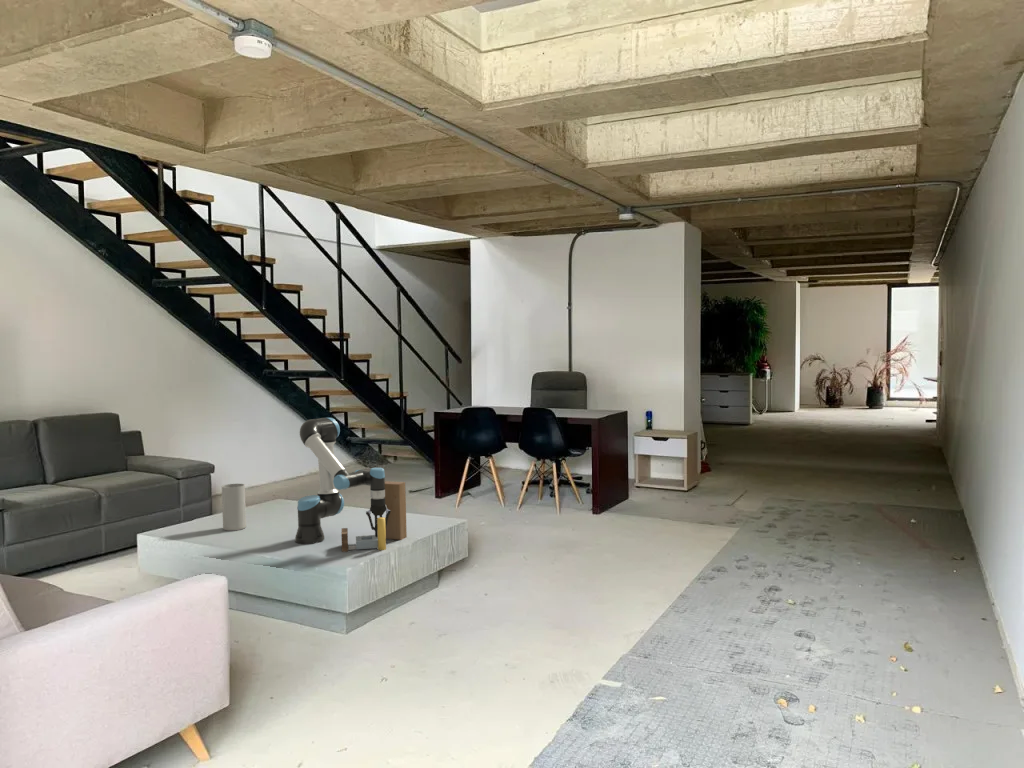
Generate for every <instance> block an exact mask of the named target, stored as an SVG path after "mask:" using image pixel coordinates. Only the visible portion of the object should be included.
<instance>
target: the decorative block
mask: <svg viewBox="0 0 1024 768" xmlns="http://www.w3.org/2000/svg"><path fill="white" fill-rule="evenodd" d="M384 498H385V506H386V508H387V509H388V510H390V511H391V512H390V514H389V516H388V521H387V526H386V540H396V541H397V540H400V541H401V540H403V539H406V538H407V537H408V535H407V534H408V533H407V532H408V531H407V500H406V498H407V495H406V482H405V481H392V480H391V481H388V480H387V481H386V480H385V497H384ZM377 530H378V527H377Z"/></svg>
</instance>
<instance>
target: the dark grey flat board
mask: <svg viewBox="0 0 1024 768" xmlns="http://www.w3.org/2000/svg"><path fill="white" fill-rule="evenodd" d="M355 550H356V544H354V545H348V551H355ZM356 551H357V550H356Z"/></svg>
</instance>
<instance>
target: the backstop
mask: <svg viewBox="0 0 1024 768" xmlns="http://www.w3.org/2000/svg"><path fill="white" fill-rule="evenodd" d="M348 530H349V529H348V527H343V528H341V535H340V536H341V553H344V552H345V553H347V552H349V550H348V546H349V538H348V537H349V534H348Z"/></svg>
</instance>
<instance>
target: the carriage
mask: <svg viewBox="0 0 1024 768" xmlns="http://www.w3.org/2000/svg"><path fill="white" fill-rule="evenodd" d="M355 545H356V551H357V550H368V549H369V550H370V549H371V550H372V549H378V537H376V536H375V534H370V535H357V536H355Z"/></svg>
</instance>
